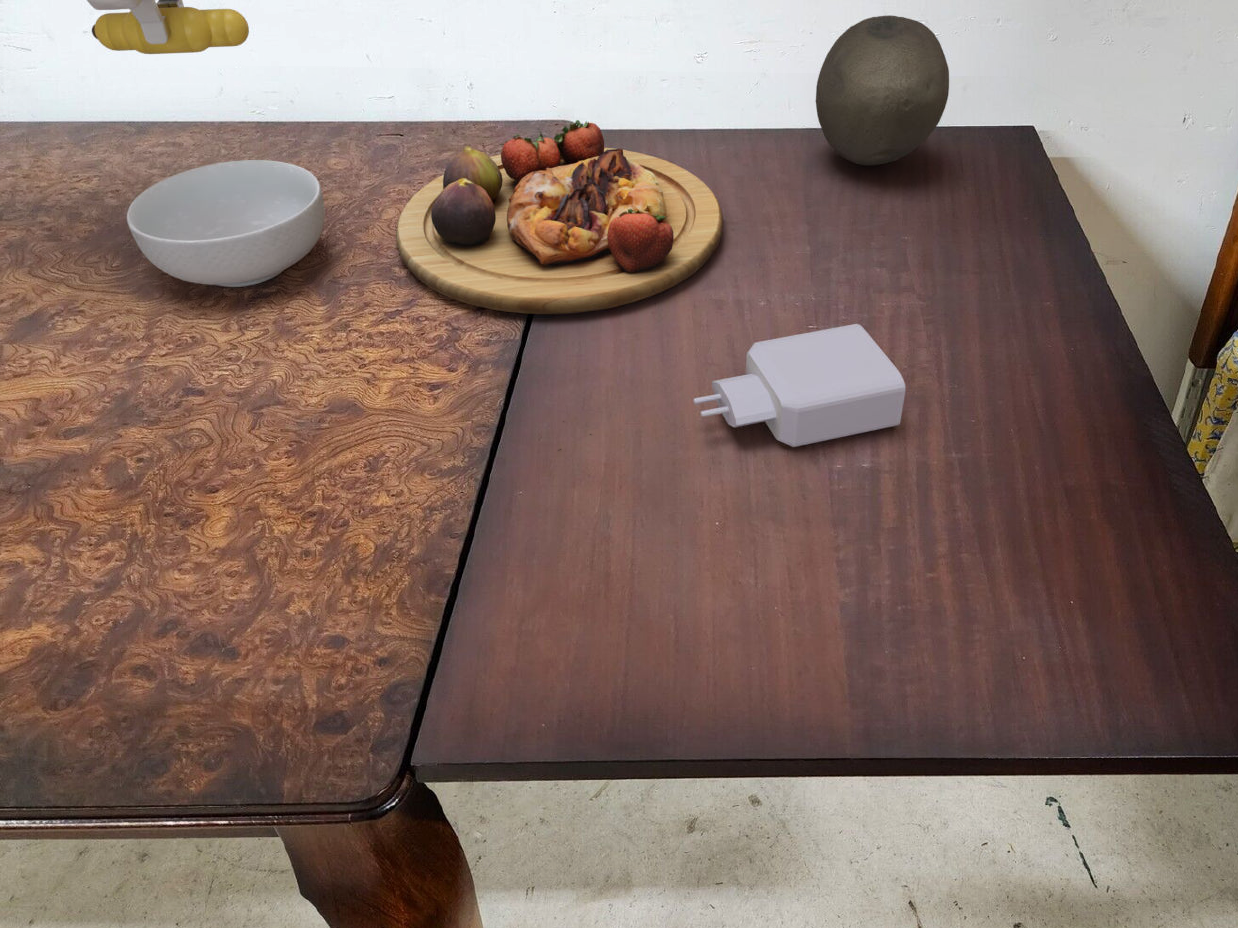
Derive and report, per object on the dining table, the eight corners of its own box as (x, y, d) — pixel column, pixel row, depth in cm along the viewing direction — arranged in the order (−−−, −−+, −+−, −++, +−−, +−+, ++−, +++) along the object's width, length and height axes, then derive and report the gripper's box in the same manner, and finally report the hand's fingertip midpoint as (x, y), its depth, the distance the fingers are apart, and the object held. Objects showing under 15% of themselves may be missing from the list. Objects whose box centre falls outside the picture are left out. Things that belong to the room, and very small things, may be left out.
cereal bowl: (317, 211, 111) (301, 144, 107) (354, 287, 100) (337, 216, 95) (142, 246, 106) (117, 177, 101) (161, 330, 95) (133, 257, 90)
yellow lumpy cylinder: (87, 61, 93) (71, 17, 91) (103, 47, 97) (89, 3, 94) (245, 55, 94) (233, 11, 92) (256, 41, 97) (245, -2, 95)
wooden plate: (781, 273, 102) (787, 190, 96) (453, 356, 92) (438, 268, 86) (643, 144, 123) (641, 70, 118) (364, 200, 113) (347, 122, 108)
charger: (678, 399, 87) (849, 366, 91) (717, 469, 81) (899, 431, 84) (678, 350, 84) (855, 317, 87) (718, 418, 78) (907, 380, 81)
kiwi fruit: (785, 171, 118) (795, 27, 108) (845, 127, 127) (859, -11, 116) (905, 204, 112) (927, 55, 102) (958, 155, 121) (983, 13, 111)
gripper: (108, -179, 92) (163, -5, 101) (19, -122, 77) (93, 76, 86) (184, -181, 92) (231, -8, 102) (110, -125, 77) (174, 72, 87)
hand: (167, 31), depth 94 cm, fingers closed on yellow lumpy cylinder, 3 cm apart
